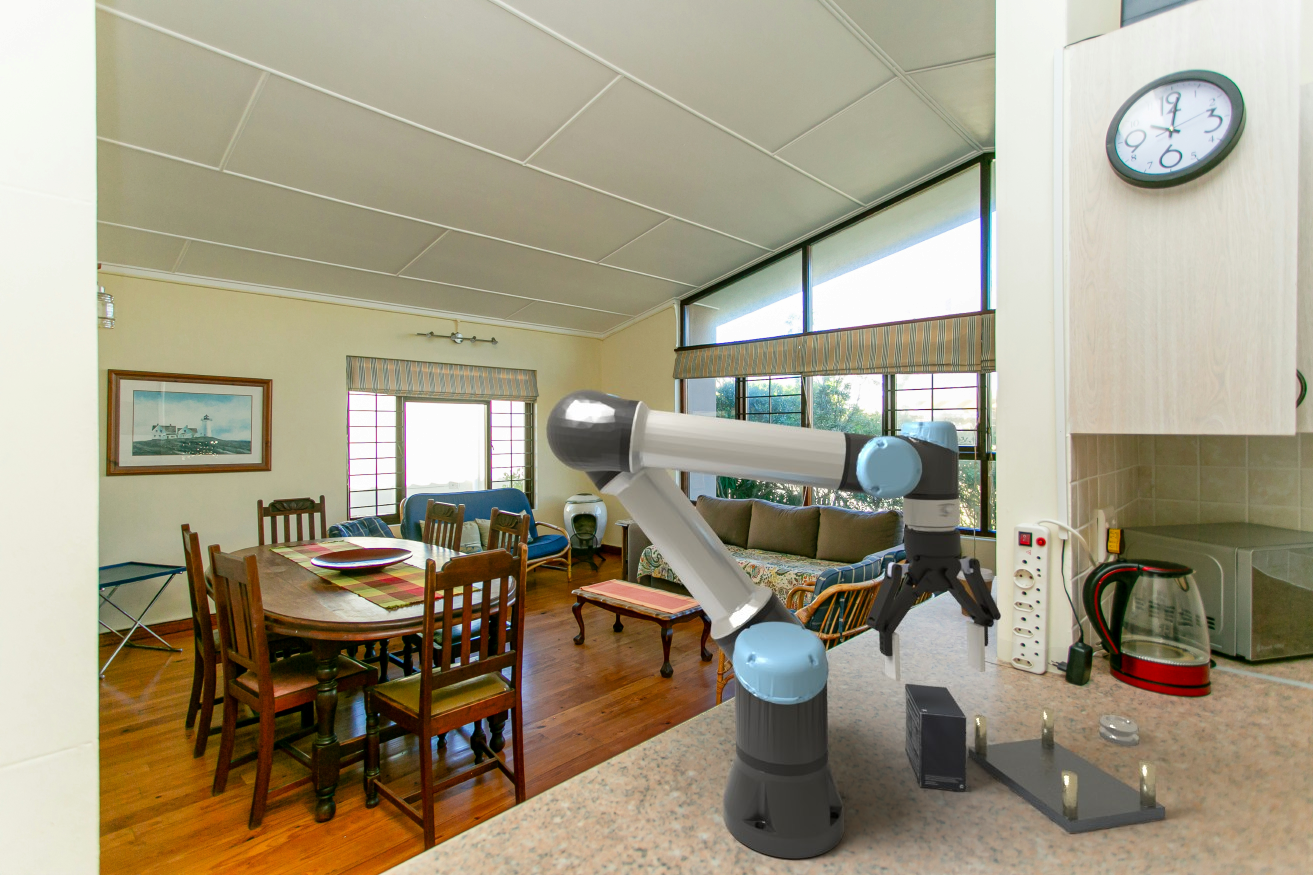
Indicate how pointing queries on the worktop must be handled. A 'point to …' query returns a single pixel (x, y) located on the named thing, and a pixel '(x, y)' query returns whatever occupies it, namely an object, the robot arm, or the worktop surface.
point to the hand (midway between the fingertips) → (935, 672)
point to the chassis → (1066, 781)
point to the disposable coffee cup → (987, 578)
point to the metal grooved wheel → (1118, 730)
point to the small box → (935, 737)
